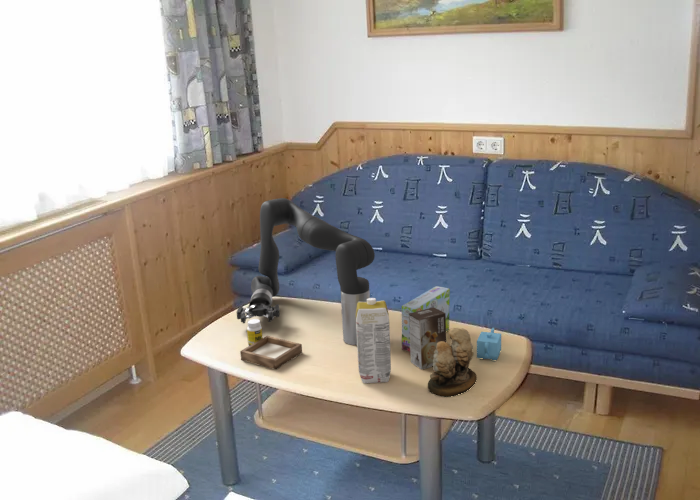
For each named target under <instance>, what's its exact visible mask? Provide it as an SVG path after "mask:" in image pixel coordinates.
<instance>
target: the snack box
mask: <svg viewBox="0 0 700 500" xmlns="http://www.w3.org/2000/svg"><path fill="white" fill-rule="evenodd" d="M450 295H451V291H450V287H449V288H447V287H443V286H438V285H435V286H434V287H432V288H431V289H429V290H427V291H425V292H423V293H421V294H420V295H418V296H417V297H414V299H411V300H409V301H408V302H406V303H404V304H403V305H401V350H402V351H406V352H409V353H410V327H409V313H413V312H417V311H421V310H425V309H428V308H432V307H434V308H436V309H439V310H440V311H442V312H444V313H446V331H447V332H449V331H450V297H451V296H450ZM448 330H449V331H448Z"/></svg>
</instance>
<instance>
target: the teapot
mask: <svg viewBox="0 0 700 500" xmlns="http://www.w3.org/2000/svg"><path fill="white" fill-rule="evenodd" d="M500 351H502V333H500V332H495V327H492V328H491V329H490V331H489V332H488V331H481V332H480V333H479V335H478V337H477V340H476V358H477V359H479V358H483V360H491V359H492V360H496V361H498V358H499V356H500V354H501V352H500ZM492 360H491V361H492Z"/></svg>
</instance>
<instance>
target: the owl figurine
mask: <svg viewBox="0 0 700 500" xmlns="http://www.w3.org/2000/svg"><path fill="white" fill-rule="evenodd" d="M448 337H449V339H450V341H451V342H450V344H449V342H447V341H446V342H444V341H440V342H438V343H437V346H436V349H435V351H434V355H433V356H434V359H433V367H432V369H433V371H434V372H432V373H430V375H429V377H430V378H429V380H428V383H427V388H428V391H429V393H431V394H432V395H434V396H437V397H439V398H440V397H442V398H451V396H453V397H457V396H459V395H458V394H460V395H462V394H461V393H463V394H465V393H467V392H468V391H469V389H470V388H471V387H472V386H473V385H474V384H475V385H476V383H477V381H478V380H477V379H478V377H477V373H476V372H475V371H474V370H472V369H471V368H470V367H469V366H470V363H471V361H472V359H473V356H474V351H473V349H474V345H473V344H472V342H471V340H472V338H471V334H470V333H469V331H468V330H467V329H465V328H459V327H452V328H451V329H449V331H448ZM476 380H477V381H476ZM475 382H476V383H475ZM475 385H474V386H475ZM474 386H473V387H474ZM473 387H472V388H473ZM472 388H471V389H472ZM471 389H470V390H471ZM467 390H468V391H467ZM466 391H467V392H466ZM464 392H465V393H464ZM456 395H457V396H456Z"/></svg>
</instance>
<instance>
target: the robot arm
mask: <svg viewBox="0 0 700 500" xmlns="http://www.w3.org/2000/svg"><path fill="white" fill-rule="evenodd" d="M280 225H281V226H282V225H292V226H294V227H295V228H296V232H297V235H298V237H299V238H300V240H302V241H303V242H305V243H306V244H308V246H309V245H310V246H312V247H313V248H316V249H320V250H325V251H333V252H334V251H335V255H334V257H335V267H336V275H337V281H338V285H339V287H340V301H341V302H340V303H341V304H340V306H341V320H342V321H341V322H342V335H343V336H342V338H343V339H342V340H343V342H344V343H345V344H347V345H353V346H357V331H356V308H357V303H358V302H367V299H368V298H371V295H370V282H369V280H368V279H367V278H365V277H361V276H358V273H357V270H361V269H364V268H366V267H368V266H370V265H371V264H372V263H373V262H374V260H375V257H376V254H375V251H374V248H373V245H372V244H370V242H368V241H367V240H365V239H364V238H362V237H359V236H356V235H354V234H351V233H348V232H346V231H344V230H342V229H340V228H338V227H336V226H334V225H332V224H330V223H328V222H327V221H325V220H323V219H321V218H319V217H317V216H315V215H313V214H311V213H309V212H307V211H306V210H304V209H302V208H301V207H300V206H298V204H296V203H294V202H293V201H292V200H290V199H288V198H284V197H280V198H273V199H268V200H266V201H264V202H262V203H261V206H260V209H259V230H260V232H259V233H260V254H259V259H258V260H259V261H258V272H259V273H260V275H257V276H255V277H253V278H252V280H251V283H250V289H251V293H252V295H251V297H250V301H249V303H248V306H247V307H244V306H243V305H240V306H238V308H237V310H236V319H237V320H240V322H241V323H242V324H246V321H247V319H250V320H251V319H253V318H254V317H259V318H261V317H265V318H267V321H268V323H271V322H272V321H273V320H274V318H279V317H280V305H279V303H277V304H275V305H274V306H272V305H273V298H275V296H277V295H278V294H279V292H280V280H279V276H278V268H279V260H280V251H279V248H278V245H277V244H276V241H275V240H274V237H273V231H274V229H275V228H274V227H276V226H280Z"/></svg>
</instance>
